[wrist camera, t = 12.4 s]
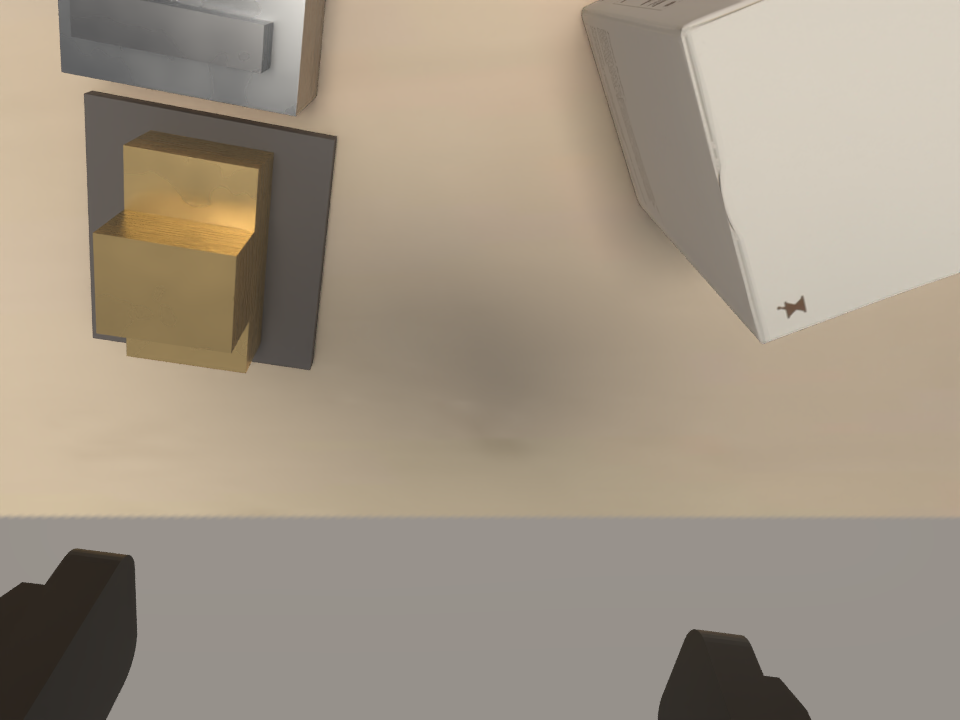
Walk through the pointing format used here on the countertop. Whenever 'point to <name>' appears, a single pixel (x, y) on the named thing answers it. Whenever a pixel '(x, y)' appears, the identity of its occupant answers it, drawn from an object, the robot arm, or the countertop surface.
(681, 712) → the robot arm
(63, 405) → the countertop surface
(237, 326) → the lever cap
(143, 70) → the grey block holder tray
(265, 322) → the rubber mat
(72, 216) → the countertop surface
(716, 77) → the supplement box
